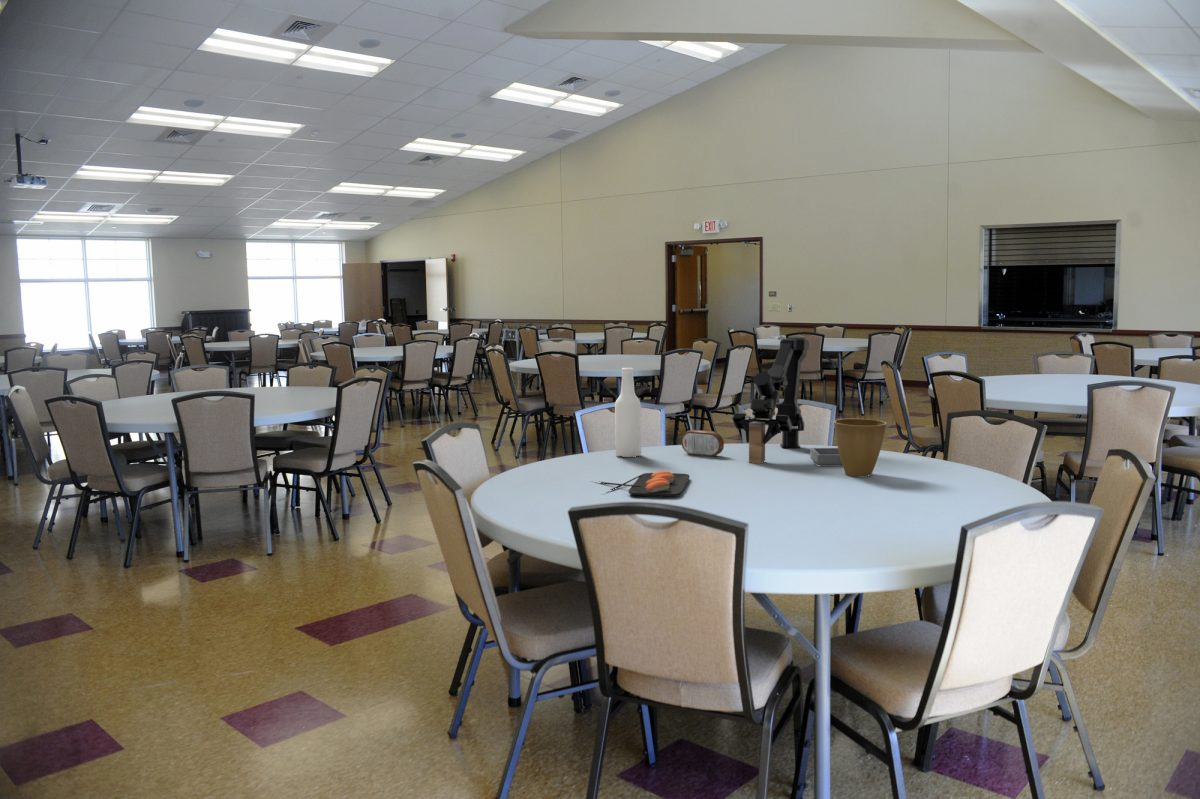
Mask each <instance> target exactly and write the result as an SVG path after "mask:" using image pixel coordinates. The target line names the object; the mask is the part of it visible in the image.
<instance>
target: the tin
mask: <svg viewBox="0 0 1200 799" xmlns="http://www.w3.org/2000/svg"><path fill="white" fill-rule="evenodd" d="M680 442H681V443H680V444H681V447H682V449H683V451H684V452H685V453H687V454H689V455H693V456H694V455H695V456H702V455H703V456H705V457H714V456H718V455H720V454H721V453H722V452H723V450H724V447H725V442H724V439H723V437H722V436H721V434H719V433H718V432H716V431H712V430H700V429H699V430H698V429H690V430H688V431H687V432H685V433H684V434H683V435H682V437H681V441H680ZM703 456H702V457H703Z"/></svg>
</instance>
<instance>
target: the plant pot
mask: <svg viewBox="0 0 1200 799" xmlns="http://www.w3.org/2000/svg"><path fill="white" fill-rule="evenodd" d="M833 422H834V432H835V439H836V444H837V448H838V450H839V454H840V458H841V461H842V465H843V466H842V468H843V471H844V474H845V475H847V476H849V475H852V476H851V477H856V476H867V477H869V476H868V475H870V476H871V475H872V474H873V472H874V469H875V467H876V464H877V461H878V459H879V456H880V453H881V450H882V446H883V442H884V437H885V432H886V428H887V427H886V426H887V422H886V421H883V420H877V419H868V418H867V419H866V418H839V419H835V420H834V421H833Z"/></svg>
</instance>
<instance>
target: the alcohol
mask: <svg viewBox="0 0 1200 799" xmlns="http://www.w3.org/2000/svg"><path fill="white" fill-rule="evenodd" d="M620 383H621V385H620V394H619V396H618V398H617V399H616V400H615V403H614V432H615V433H614V439H615V440H614V441H615V442H614V443H615V446H614V448H615V449H614V450H615V455H616V457H618V456H622V457H633V458H636V457H635V456H639V457H640V456H641V454H642V403H641V401H640V399H639V398H638V396H637V395H636V393H635V381H634V367H622V368H621V382H620ZM622 457H621V458H622Z"/></svg>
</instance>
